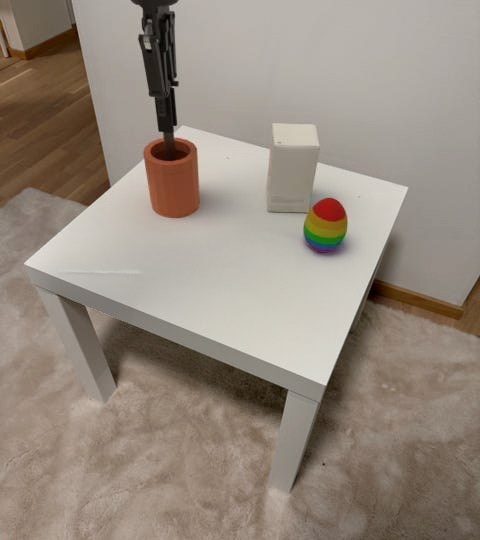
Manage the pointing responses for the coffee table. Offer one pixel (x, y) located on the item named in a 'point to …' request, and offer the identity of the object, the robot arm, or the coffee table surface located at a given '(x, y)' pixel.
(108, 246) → the coffee table surface
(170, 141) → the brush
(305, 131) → the rectangular carton
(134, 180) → the coffee table surface
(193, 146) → the jar
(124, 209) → the coffee table surface
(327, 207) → the decorative egg
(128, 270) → the coffee table surface
